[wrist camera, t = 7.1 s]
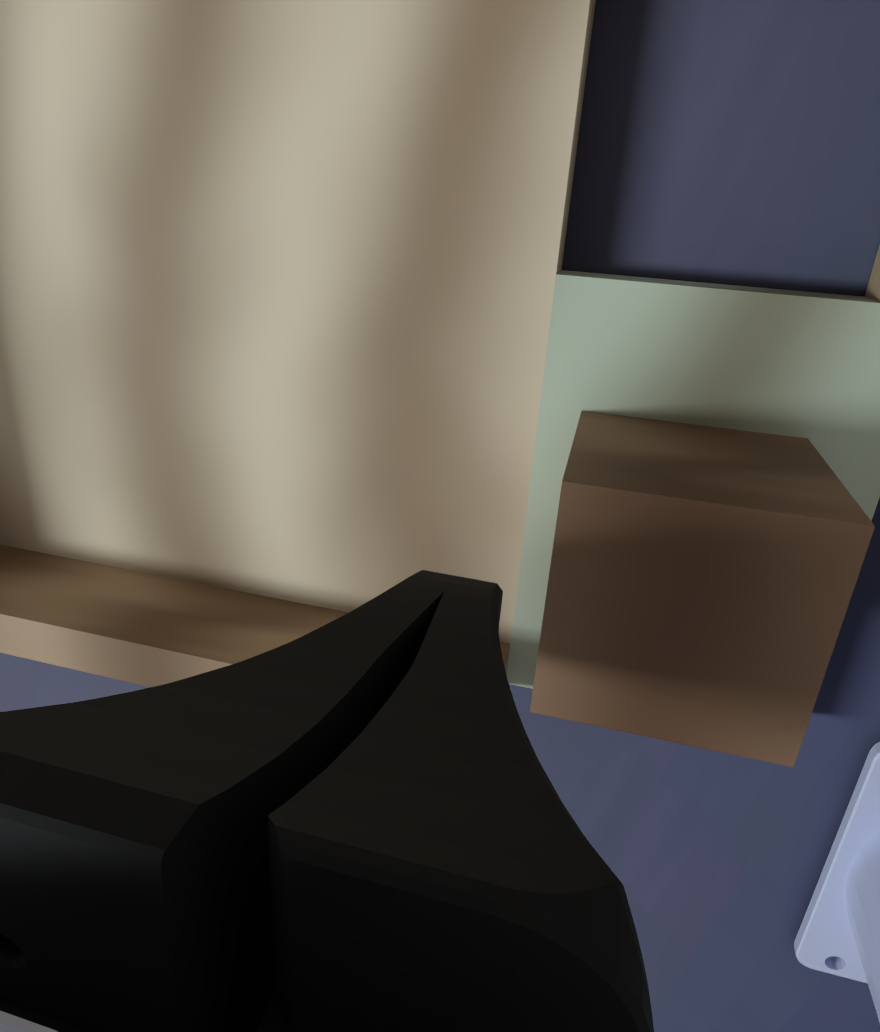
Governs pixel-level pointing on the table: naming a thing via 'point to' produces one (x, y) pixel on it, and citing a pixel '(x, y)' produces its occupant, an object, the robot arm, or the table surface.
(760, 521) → the walnut block
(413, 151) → the cubby base
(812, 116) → the table surface
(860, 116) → the table surface
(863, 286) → the table surface
